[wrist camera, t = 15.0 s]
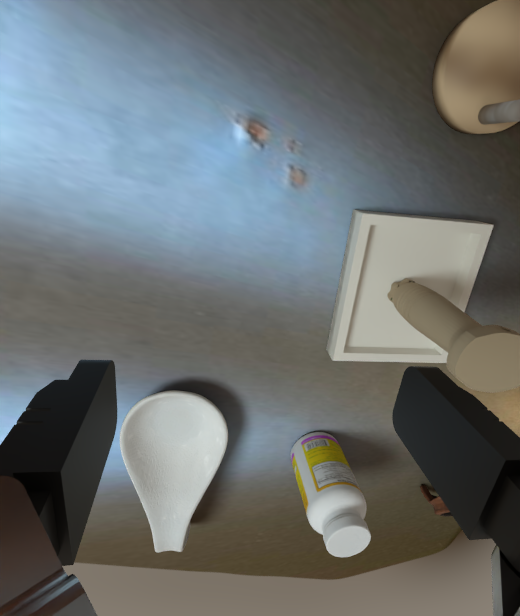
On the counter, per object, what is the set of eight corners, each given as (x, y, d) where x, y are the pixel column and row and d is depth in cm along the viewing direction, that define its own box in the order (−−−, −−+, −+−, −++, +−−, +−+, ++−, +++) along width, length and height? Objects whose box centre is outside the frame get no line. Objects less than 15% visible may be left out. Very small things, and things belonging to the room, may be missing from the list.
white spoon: (124, 374, 41) (109, 417, 35) (229, 376, 43) (234, 416, 37) (130, 523, 50) (119, 580, 44) (218, 519, 52) (219, 572, 45)
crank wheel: (451, -4, 31) (503, -36, 26) (552, 16, 33) (621, -10, 27) (419, 127, 35) (459, 123, 30) (512, 139, 37) (566, 137, 31)
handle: (382, 264, 39) (474, 326, 25) (435, 276, 40) (550, 342, 26) (366, 306, 41) (444, 385, 27) (417, 316, 42) (517, 397, 28)
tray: (353, 209, 37) (362, 213, 35) (477, 220, 39) (493, 225, 37) (326, 349, 43) (332, 360, 41) (435, 352, 45) (447, 362, 43)
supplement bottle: (316, 475, 51) (349, 572, 39) (279, 456, 49) (302, 553, 37) (348, 442, 49) (393, 532, 38) (312, 421, 47) (347, 510, 35)
